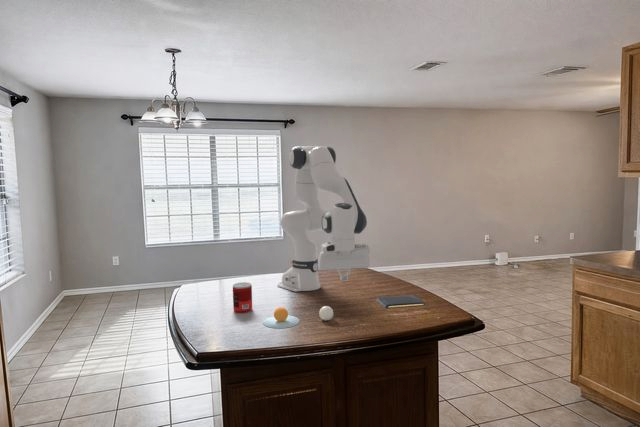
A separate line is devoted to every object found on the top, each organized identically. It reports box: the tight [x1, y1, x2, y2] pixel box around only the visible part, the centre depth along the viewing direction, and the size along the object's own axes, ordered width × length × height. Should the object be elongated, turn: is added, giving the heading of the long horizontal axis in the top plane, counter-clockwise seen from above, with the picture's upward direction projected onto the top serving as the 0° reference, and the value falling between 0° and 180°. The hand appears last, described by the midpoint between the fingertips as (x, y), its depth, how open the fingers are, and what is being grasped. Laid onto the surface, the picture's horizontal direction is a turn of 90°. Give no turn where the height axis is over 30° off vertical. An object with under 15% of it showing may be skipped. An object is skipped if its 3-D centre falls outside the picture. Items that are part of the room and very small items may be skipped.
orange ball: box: [273, 306, 289, 322], centre depth 163 cm, size 6×6×6 cm
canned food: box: [232, 281, 253, 314], centre depth 178 cm, size 8×8×11 cm
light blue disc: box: [262, 315, 300, 329], centre depth 163 cm, size 14×14×1 cm
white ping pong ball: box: [318, 305, 334, 321], centre depth 164 cm, size 6×6×6 cm
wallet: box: [375, 294, 429, 310], centre depth 186 cm, size 20×2×15 cm
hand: (344, 279), depth 166 cm, fingers closed
